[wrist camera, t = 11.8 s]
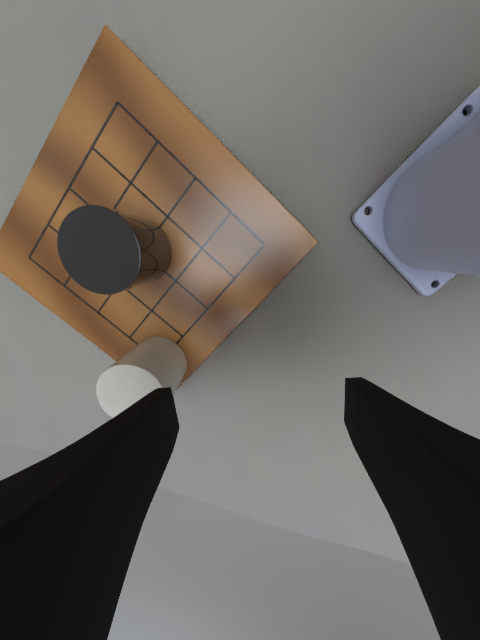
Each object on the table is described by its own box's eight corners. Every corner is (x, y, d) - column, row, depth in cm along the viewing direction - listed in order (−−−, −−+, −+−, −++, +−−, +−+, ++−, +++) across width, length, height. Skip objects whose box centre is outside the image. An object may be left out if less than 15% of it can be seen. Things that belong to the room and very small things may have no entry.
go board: (117, 41, 14) (104, 23, 13) (314, 242, 17) (319, 241, 15) (1, 259, 18) (-16, 260, 17) (171, 391, 21) (166, 400, 20)
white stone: (154, 325, 18) (120, 350, 14) (198, 361, 19) (180, 396, 14) (122, 362, 19) (82, 397, 15) (165, 395, 20) (139, 438, 15)
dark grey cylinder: (133, 201, 15) (83, 183, 11) (184, 248, 16) (158, 248, 12) (98, 253, 17) (41, 255, 12) (148, 295, 17) (111, 311, 13)
